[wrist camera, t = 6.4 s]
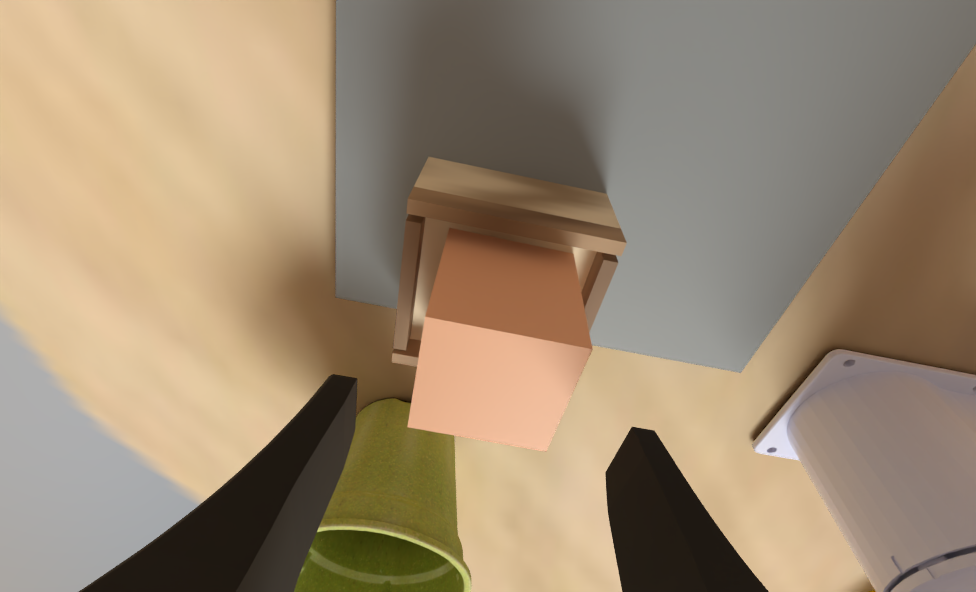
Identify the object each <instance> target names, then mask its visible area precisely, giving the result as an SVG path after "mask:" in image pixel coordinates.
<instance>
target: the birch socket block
mask: <svg viewBox="0 0 976 592" xmlns="http://www.w3.org/2000/svg"><path fill="white" fill-rule="evenodd" d="M406 213H407V214H408V217H407V219H406V222H405V232H404V242H403V252H402V263H401V273H400V283H399V293H398V303H397V313H396V323H395V334H394V344H393V348H394V350H393V354H392V362H393V363H398V364H404V365H410V366H415V367H417V364H418V358H419V352H420V345H421V339H422V333H423V327H424V321H425V315H426V312H427V308H428V304H429V301H430V297H431V293H432V290H433V286H434V282H435V279H436V275H437V271H438V268H439V264H440V260H441V256H442V253H443V249H444V245H445V242H446V238H447V234H448V231H449V228H453V229H458V230H463V231H468V232H472V233H477V234H482V235H487V236H491V237H496V238H501V239H506V240H511V241H515V242H520V243H525V244H530V245H534V246H539V247H544V248H549V249H553V250H558V251H563V252H568V253H573V254H574V258H575V263H576V269H577V274H578V279H579V284H580V289H581V294H582V299H583V304H584V309H585V314H586V319H587V324H588V329H589V332H590V330H591V327H592V325H593V323H594V320H595V318H596V315H597V313H598V311H599V308H600V306H601V304H602V301H603V299H604V296H605V294H606V292H607V289H608V287H609V284H610V282H611V280H612V277H613V275H614V273H615V270H616V268H617V265H618V260H617V257H616V255H617V256H622V253H623V251H624V249H625V246H626V244H627V242H626V240H625V237H624V235H623V232H622V230H621V227H620V225H619V222H618V220H617V217H616V215H615V212H614V210H613V208H612V205H611V203H610V200H609V198H608V195H607V194H606V193H601V192H596V191H591V190H586V189H582V188H577V187H572V186H567V185H562V184H558V183H553V182H548V181H543V180H538V179H534V178H529V177H524V176H519V175H514V174H510V173H505V172H500V171H495V170H490V169H486V168H481V167H476V166H471V165H466V164H462V163H457V162H452V161H447V160H442V159H438V158H433V157H428V159H427V161H426V163H425V165H424V167H423V169H422V171H421V173H420V175H419V177H418V179H417V181H416V183H415V185H414V187H413V189H412V191H411V193H410V195H409V197H408V202H407V212H406Z"/></svg>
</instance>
